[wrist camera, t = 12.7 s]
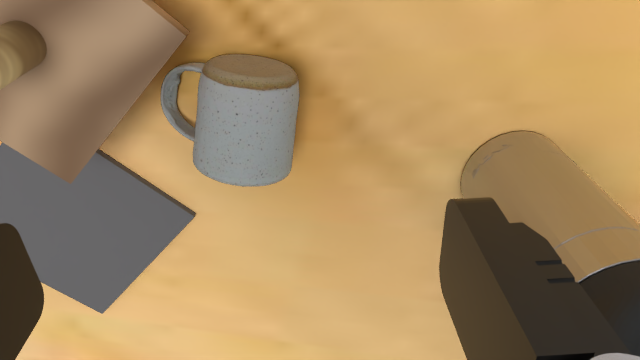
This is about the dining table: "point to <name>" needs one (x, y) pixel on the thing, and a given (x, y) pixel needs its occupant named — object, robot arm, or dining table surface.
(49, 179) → the mat
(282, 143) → the ceramic mug
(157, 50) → the lid
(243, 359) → the dining table surface
